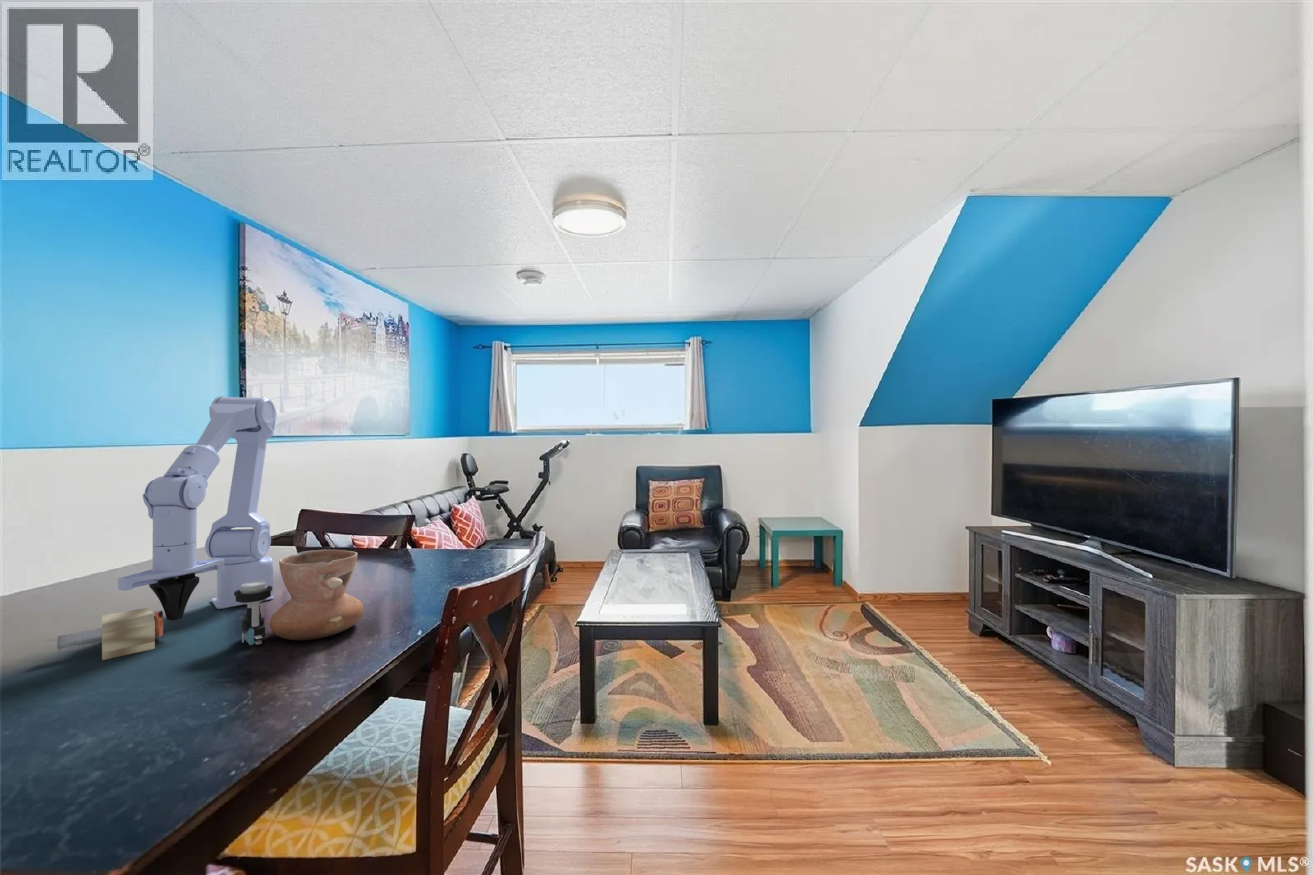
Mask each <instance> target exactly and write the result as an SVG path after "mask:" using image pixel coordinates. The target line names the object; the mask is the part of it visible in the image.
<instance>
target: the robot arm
mask: <svg viewBox="0 0 1313 875" xmlns="http://www.w3.org/2000/svg"><path fill="white" fill-rule="evenodd" d="M208 410H209V418H210V420H209V421H208V423H207V425H206V427H205V428H204V430H203V432H202V434H201V435H200V436H199V439H198V441H197V442H196V444H192V445H187V446H186V447H184V448H183V450H182V451H181V452H180V453H179V455H178V456H177V458H176V459H175V460H174V461H173V463H172V464H171V465H170V467H169V468H168V469H167V470H166V472H165V473H164V475H163V476H159V477H156V478H155V479H153V480H150V481H149V482H148V483H147V485H146V486H145V488H144V493H142V499H143V500H142V501H143V503H144V504H145V506H146V507H147V511H148V513H147V516H148V517H149V519H151V520H152V562H151V563H152V568H151V569H149V570H144V571H141V572H137V573H133V574H130V575H127V576H122V577H118V578H117V590H120V591H130V590H133V589H135V588H138V587H139V588H140V587H144V586H147V585H148V586H149V588H150V590H152V591H153V593H154V595H156V597H157V598H158V600H159V603H160V604H161V607H162V608H163V613H164V614H165V618H166V619H165V620H167V621H171V622H174V621H177V620H178V621H179V620H182V619H183V617H184V613H185V610H186V607H187V605H188V601H189V600H190V597H191V596H192V594H193V592H194V590H195V589H196V587H198V585H199V583H200V576H196V575H197V574H198V575H199V574H204V573H207V572H212V571H216V597H213V598H211V602H212V604H213V605H214V606H215V609H217V610H221V609H222V610H223V609H227V608H232V607H239V606H242V605H245V604H241V603H240V602H236V596H235V595H234V592H235V591H236V590H239V589H241V585H243V584H245V583H249V582H257V581H264V582H266V585H268V586H272V587H273V589H272V591H271V596H270V597H268V598H266V600H265V601H270V600H274V597H275V596H274V562H273V559H272V557H271V556H268V555H267V553H268V552H269V550H270V547H271V543H272V537H271V530H270V529H271V523H270V522H268V521H267V520H266V519H264V518H263V517H262V516H261V515H259V514H258V507H259V501H260V493H261V486H262V478H263V471H264V467H265V466H264V464H265V460H266V459H265V458H266V449H267V443H268V439H270V438H273V436H274V431H275V429H276V428H275V427H276V426H275V425H276V420H277V409H276V408H275V405H274V403H273V401H272V400H271V399H270V398H269V397H266V396H265V397H240V396H236V397H235V396H224V395H223V396H222V395H220V396H219V395H218V396H217V397H215V398H214V400H212V402H211V405H210V406H209V409H208ZM230 438H231V439H232V438H233V439H235V440H234V441H236V443H237V445H236V451H235V459H234V463H233V464H234V465H233V469H232V470H233V473H232V479H231V483H230V484H231V486H230V490H229V497H228V503H227V510H226V514H224V515H223V516H222V517H220V518H218V519H216V520H215V521H214V522H212V524H211V529H210V531H209V534H208V536H207V537H206V539H205V544H204V549H205V554H206V555H207V556H208V557H209V559H205V560H204V559H203V560H198V561H197V525H198V524H197V519H198V518H197V517H198V516H197V514H198V513H197V510H198V509H197V508H198V507H200V505H201V504H202V503H203V502H204V501H205V499H206V493H207V488H208V484H209V482H208V479H209V478H210V476H211V475H212V473H214V471H215V469H216V467H218V465H219V464H220V461H221V458H220V455H219V454H218V453H219V452H220V450H221V449H222V448H223V447H224V446H225V445H226V443H227V442H228V441H229V440H230ZM236 528H239V529H236ZM266 555H267V556H266Z"/></svg>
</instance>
